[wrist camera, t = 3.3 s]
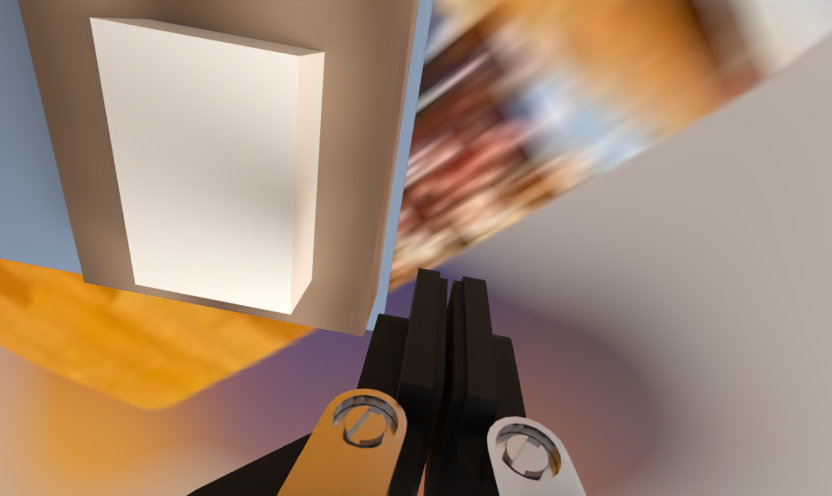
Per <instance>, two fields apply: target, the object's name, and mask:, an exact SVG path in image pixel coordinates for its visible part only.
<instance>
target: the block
mask: <svg viewBox="0 0 832 496" xmlns="http://www.w3.org/2000/svg"><path fill="white" fill-rule="evenodd" d="M18 3H19V7H20V11H21V15H22V20H23V24H24V28H25V32H26V37H27V41H28V45H29V49H30V54H31V58H32V62H33V66H34V71H35V75H36V79H37V83H38V88H39V92H40V96H41V100H42V105H43V109H44V113H45V117H46V122H47V126H48V130H49V134H50V138H51V143H52V147H53V151H54V155H55V160H56V164H57V168H58V172H59V177H60V181H61V185H62V189H63V194H64V198H65V202H66V206H67V211H68V215H69V219H70V223H71V228H72V232H73V236H74V240H75V245H76V249H77V253H78V257H79V261H80V266H81V270H82V274H83V278H84V283H90V284H95V285H100V286H105V287H110V288H115V289H120V290H126V291H131V292H136V293H141V294H146V295H151V296H156V297H162V298H167V299H172V300H177V301H182V302H187V303H192V304H198V305H203V306H208V307H213V308H218V309H223V310H228V311H234V312H239V313H244V314H249V315H254V316H259V317H264V318H269V319H275V320H280V321H285V322H290V323H295V324H300V325H305V326H311V327H316V328H321V329H326V330H331V331H336V332H341V333H347V334H352V335H357V336H362V337H363V335H364V332H365V329H366V326H367V323H368V320H369V317H370V314H371V311H372V308H373V305H374V302H375V299H376V295H377V291H378V284H379V277H380V270H381V263H382V256H383V250H384V243H385V236H386V229H387V222H388V215H389V208H390V201H391V194H392V187H393V180H394V173H395V166H396V159H397V152H398V145H399V138H400V131H401V124H402V118H403V111H404V104H405V97H406V90H407V83H408V76H409V69H410V62H411V55H412V48H413V41H414V34H415V27H416V20H417V13H418V6H419V0H18ZM90 17H92V18H125V19H150V20H155V21H160V22H166V23H171V24H177V25H182V26H187V27H193V28H198V29H203V30H209V31H214V32H220V33H225V34H230V35H236V36H241V37H247V38H252V39H257V40H263V41H268V42H274V43H279V44H284V45H290V46H295V47H301V48H306V49H311V50H317V51H322V52H325V55H324V73H323V90H322V108H321V125H320V143H319V160H318V178H317V195H316V213H315V230H314V248H313V265H312V280H311V282H310V284H309V285H308V287H307V289H306V290H305V292H304V294H303V295H302V297H301V298H300V300H299V302H298V303H297V305H296V307H295V308H294V310H293V312H292V313H291V315H290V314H285V313H280V312H275V311H270V310H265V309H259V308H254V307H249V306H244V305H239V304H234V303H229V302H223V301H218V300H213V299H208V298H203V297H198V296H192V295H187V294H182V293H177V292H172V291H167V290H162V289H156V288H151V287H146V286H141V285H136V284H135V279H134V274H133V268H132V262H131V256H130V250H129V244H128V238H127V233H126V227H125V221H124V215H123V209H122V203H121V197H120V192H119V186H118V180H117V174H116V168H115V162H114V156H113V150H112V145H111V139H110V133H109V127H108V121H107V115H106V109H105V104H104V98H103V92H102V86H101V80H100V74H99V68H98V62H97V57H96V51H95V45H94V39H93V33H92V27H91V21H90Z"/></svg>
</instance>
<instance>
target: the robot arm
mask: <svg viewBox="0 0 832 496" xmlns="http://www.w3.org/2000/svg"><path fill="white" fill-rule="evenodd" d="M447 283H448V282H447V279H444V278H440V272H438V271H432V270H427V269H421V268H419V269H418V274H417V279H416V285H415V290H414V295H413V300H412V305H411V311H410V316H409V319H407V318H402V317H397V316H391V315H386V314H380V313H379V314H378V316H377V320H376V323H375V327H374V330H373V334H372V337H371V341H370V345H369V348H368V352H367V355H366V359H365V362H364V366H363V369H362V373H361V376H360V380H359V383H358V387H357V389H354V390H351V391H348V392H345V393H342V394H341V395H339V396H338V397H336V398H335V399H333V401H332V402H331V403H330V404H329V405H328V407H327V408H326V410H325V412H324V413H323V415H322V417H321V418H320V420H319V422H318V424H317V426H316V427H315V429H314V431H313V432H312V433H310V434H308V435H306V436H304V437H302V438H300V439H298V440H296V441H294V442H292V443H290V444H288V445H286V446H284V447H282V448H280V449H278V450H276V451H273V452H271V453H269V454H268V455H265V456H263V457H261V458H259V459H257V460H255V461H253V462H251V463H249V464H247V465H245V466H243V467H241V468H239V469H237V470H235V471H233V472H231V473H229V474H227V475H225V476H223V477H221V478H219V479H217V480H215V481H213V482H211V483H209V484H207V485H205V486H203V487H201V488H199V489H197V490H195V491H193V492H192V493H190V494H189V495H187V496H417V493H418V489H419V485H420V481H421V477H422V474H423V470H424V466H425V462H426V468H425V481H424V496H586V494H585V492H584V489H583V487H582V485H581V482H580V480H579V478H578V475H577V473H576V471H575V469H574V466H573V464H572V461H571V459H570V457H569V454H568V452H567V451H566V449H565V447H564V446H563V444H562V442H561V441H560V440H559V439H558V438H557V437H556V436H555V435H554V434H553V432H552V431H550V430H549V429H547V428H546V427H544V426H543V425H541V424H540V423H537V422H535V421H532V420H530V419H527V418H526V414H525V409H524V404H523V398H522V393H521V388H520V382H519V378H518V372H517V367H516V361H515V357H514V351H513V346H512V341H511V339H510V338H509V337H504V336H499V335H494V334H492V326H491V319H490V311H489V304H488V295H487V288H486V281H485V280H480V279H475V278H470V277H465V276H463V278H462V281H461V282H460V281H454V282H453V285H452V289H451V294H450V297H449V302H448V306H447Z"/></svg>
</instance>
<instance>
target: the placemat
mask: <svg viewBox="0 0 832 496" xmlns="http://www.w3.org/2000/svg"><path fill="white" fill-rule="evenodd" d="M432 6H433V0H419V6H418V13H417V20H416V27H415V34H414V41H413V48H412V55H411V62H410V69H409V76H408V83H407V90H406V97H405V104H404V111H403V118H402V124H401V131H400V138H399V145H398V152H397V159H396V166H395V173H394V180H393V187H392V194H391V201H390V208H389V215H388V222H387V229H386V236H385V243H384V250H383V256H382V263H381V270H380V277H379V284H378V291H377V295H376V299H375V302H374V305H373V308H372V311H371V314H370V317H369V320H368V323H367V326H366V329H367V330H372V331H373V330H374V327H375V323H376V320H377V316H378V314H379V313H380V314H384V311H385V305H386V298H387V292H388V286H389V279H390V273H391V267H392V260H393V254H394V248H395V241H396V235H397V229H398V222H399V216H400V210H401V203H402V197H403V190H404V184H405V178H406V171H407V165H408V159H409V152H410V146H411V140H412V133H413V127H414V120H415V114H416V108H417V101H418V95H419V89H420V82H421V76H422V70H423V63H424V57H425V50H426V44H427V38H428V31H429V25H430V19H431V12H432ZM0 258H2V259H7V260H12V261H17V262H22V263H27V264H32V265H38V266H43V267H48V268H53V269H58V270H63V271H68V272H74V273H79V274H82V270H81V266H80V261H79V257H78V253H77V249H76V245H75V240H74V236H73V232H72V228H71V223H70V219H69V215H68V211H67V206H66V202H65V198H64V194H63V189H62V185H61V181H60V177H59V172H58V168H57V164H56V160H55V155H54V151H53V147H52V143H51V138H50V134H49V130H48V126H47V122H46V117H45V113H44V109H43V105H42V100H41V96H40V92H39V88H38V83H37V79H36V75H35V71H34V66H33V62H32V58H31V54H30V49H29V45H28V41H27V37H26V32H25V28H24V24H23V20H22V15H21V11H20V7H19V3H18V0H0Z"/></svg>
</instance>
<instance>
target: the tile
mask: <svg viewBox="0 0 832 496" xmlns="http://www.w3.org/2000/svg"><path fill="white" fill-rule="evenodd" d="M90 21H91V27H92V33H93V39H94V45H95V51H96V57H97V62H98V68H99V74H100V80H101V86H102V92H103V98H104V104H105V109H106V115H107V121H108V127H109V133H110V139H111V145H112V150H113V156H114V162H115V168H116V174H117V180H118V186H119V192H120V197H121V203H122V209H123V215H124V221H125V227H126V233H127V238H128V244H129V250H130V256H131V262H132V268H133V274H134V279H135V284H136V285H141V286H146V287H151V288H156V289H162V290H167V291H172V292H177V293H182V294H187V295H192V296H198V297H203V298H208V299H213V300H218V301H223V302H229V303H234V304H239V305H244V306H249V307H254V308H259V309H265V310H270V311H275V312H280V313H285V314H290V315H291V313H292V312H293V310H294V308H295V307H296V305H297V303H298V302H299V300H300V298H301V297H302V295H303V294H304V292H305V290H306V289H307V287H308V285H309V284H310V282H311V280H312V265H313V248H314V230H315V213H316V195H317V178H318V160H319V143H320V125H321V108H322V90H323V73H324V55H325V52H322V51H317V50H311V49H306V48H301V47H295V46H290V45H284V44H279V43H274V42H268V41H263V40H257V39H252V38H247V37H241V36H236V35H230V34H225V33H220V32H214V31H209V30H203V29H198V28H193V27H187V26H182V25H177V24H171V23H166V22H160V21H155V20H150V19H125V18H92V17H90Z"/></svg>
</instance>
